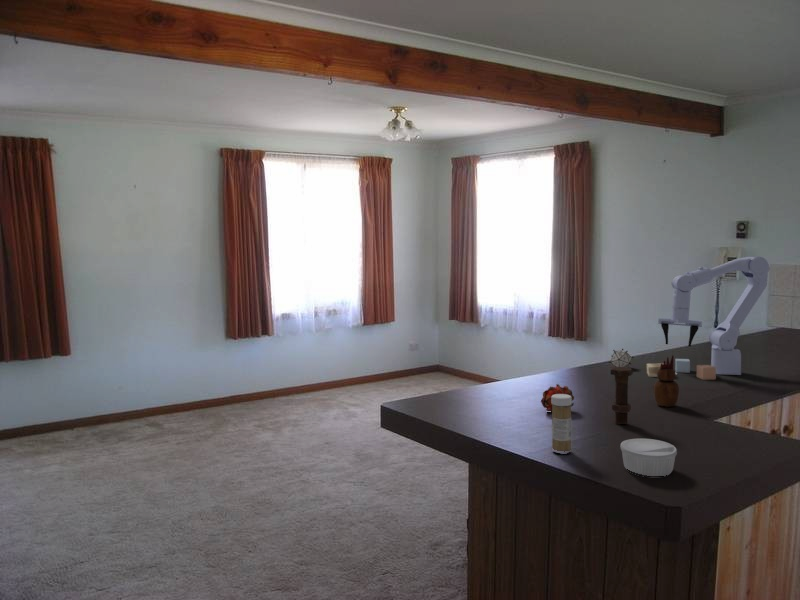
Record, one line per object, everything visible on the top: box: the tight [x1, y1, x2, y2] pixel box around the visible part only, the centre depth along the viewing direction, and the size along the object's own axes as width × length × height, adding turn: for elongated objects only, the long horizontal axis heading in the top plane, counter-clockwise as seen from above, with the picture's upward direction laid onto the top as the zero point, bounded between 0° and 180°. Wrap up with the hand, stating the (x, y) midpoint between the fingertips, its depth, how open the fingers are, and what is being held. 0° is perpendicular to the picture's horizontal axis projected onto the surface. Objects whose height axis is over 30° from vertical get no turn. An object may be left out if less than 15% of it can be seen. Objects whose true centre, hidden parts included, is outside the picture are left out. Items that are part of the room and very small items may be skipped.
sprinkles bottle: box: [551, 394, 573, 452], centre depth 145 cm, size 5×5×14 cm
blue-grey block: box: [674, 358, 691, 374], centre depth 230 cm, size 4×4×5 cm
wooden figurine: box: [653, 355, 680, 408], centre depth 184 cm, size 7×6×15 cm
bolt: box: [610, 366, 633, 425], centre depth 167 cm, size 6×5×15 cm
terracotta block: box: [696, 364, 717, 380], centre depth 217 cm, size 4×4×5 cm
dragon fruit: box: [540, 383, 575, 412], centre depth 181 cm, size 8×8×12 cm
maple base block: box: [646, 362, 664, 378], centre depth 224 cm, size 7×7×4 cm
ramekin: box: [620, 437, 678, 477], centre depth 133 cm, size 11×11×5 cm
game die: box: [607, 348, 635, 368], centre depth 238 cm, size 9×8×10 cm
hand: (678, 344), depth 229 cm, fingers open, 7 cm apart
